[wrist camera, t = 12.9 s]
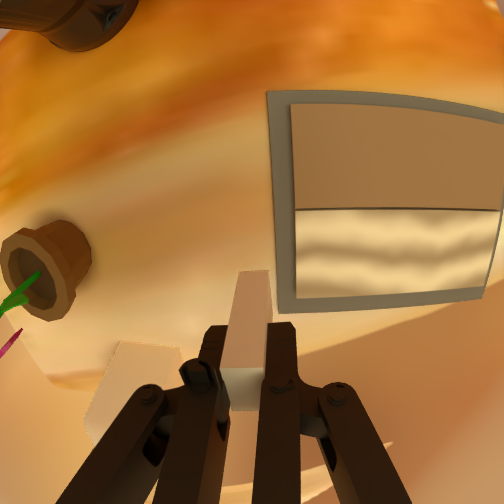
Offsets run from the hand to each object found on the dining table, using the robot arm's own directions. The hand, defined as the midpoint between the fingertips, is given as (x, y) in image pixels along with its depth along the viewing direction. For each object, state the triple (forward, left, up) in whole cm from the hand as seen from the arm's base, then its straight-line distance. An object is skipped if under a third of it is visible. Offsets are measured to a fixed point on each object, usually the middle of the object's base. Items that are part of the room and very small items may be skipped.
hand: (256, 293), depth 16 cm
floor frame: (+2, +18, -24) cm, 30 cm away
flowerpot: (+7, -33, -24) cm, 42 cm away
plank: (+8, +18, -23) cm, 30 cm away
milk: (+32, -23, -24) cm, 46 cm away
